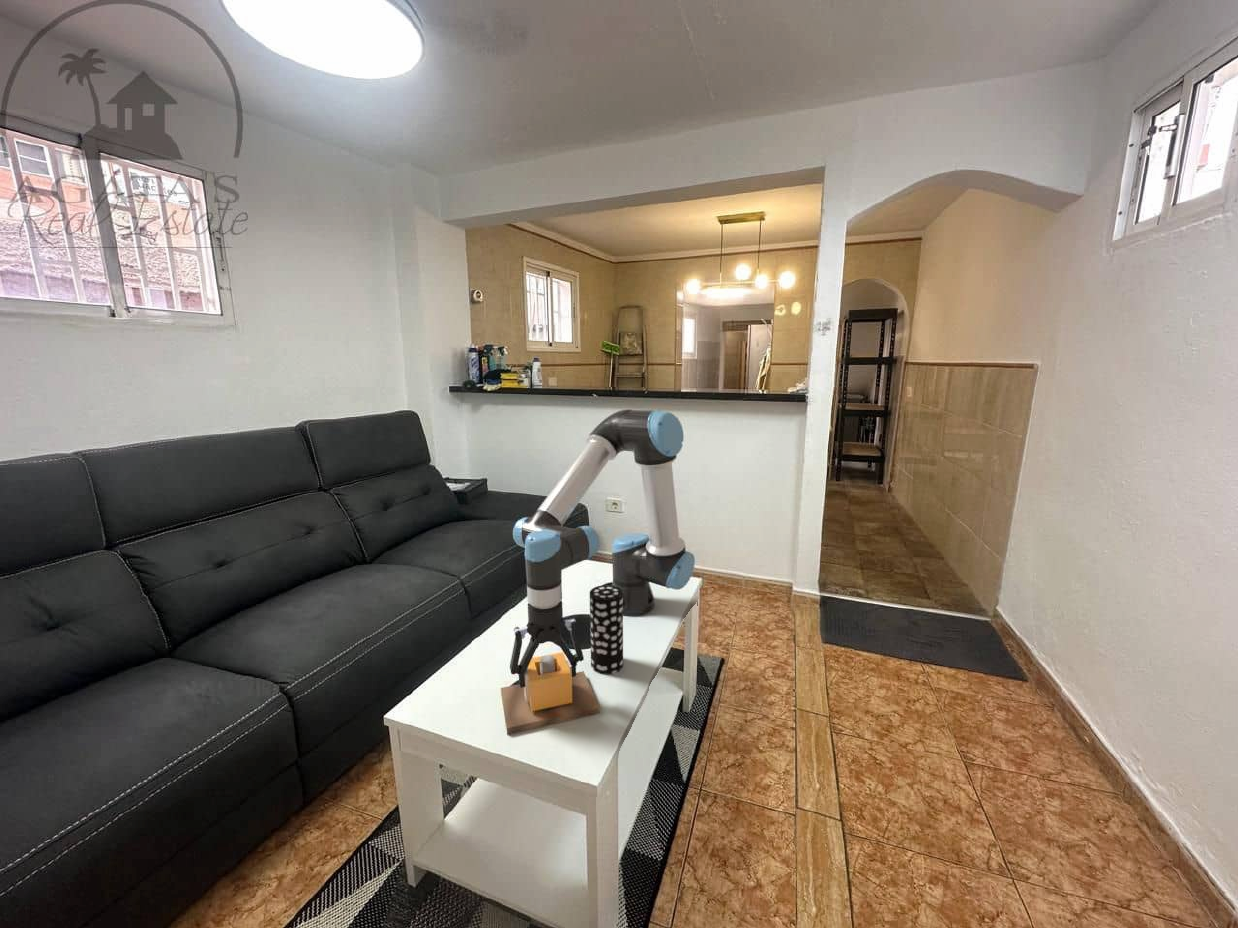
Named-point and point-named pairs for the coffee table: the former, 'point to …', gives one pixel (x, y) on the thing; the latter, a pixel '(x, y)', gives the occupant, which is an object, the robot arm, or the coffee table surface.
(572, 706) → the post board
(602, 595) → the white-spotted black cylinder
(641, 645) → the coffee table surface
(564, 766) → the coffee table surface
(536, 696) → the collar
